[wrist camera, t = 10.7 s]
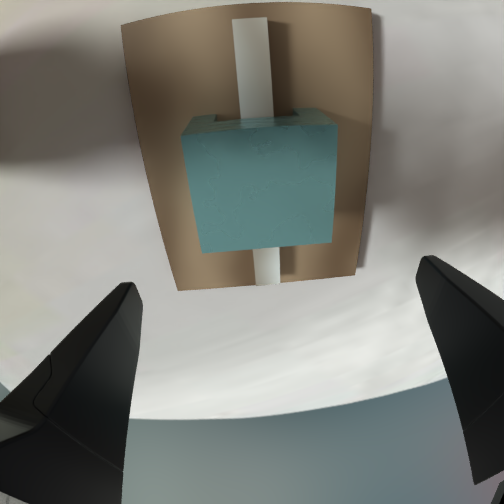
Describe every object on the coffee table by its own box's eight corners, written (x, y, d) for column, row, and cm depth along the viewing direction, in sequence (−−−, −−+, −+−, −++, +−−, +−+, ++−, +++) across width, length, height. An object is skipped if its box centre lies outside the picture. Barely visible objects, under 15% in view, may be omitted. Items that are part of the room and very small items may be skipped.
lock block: (207, 213, 19) (202, 253, 16) (192, 116, 15) (180, 136, 12) (315, 205, 19) (331, 242, 15) (315, 107, 15) (337, 124, 12)
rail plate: (179, 281, 23) (175, 302, 21) (126, 26, 12) (112, 24, 11) (351, 266, 23) (359, 286, 21) (364, 10, 12) (380, 6, 11)
